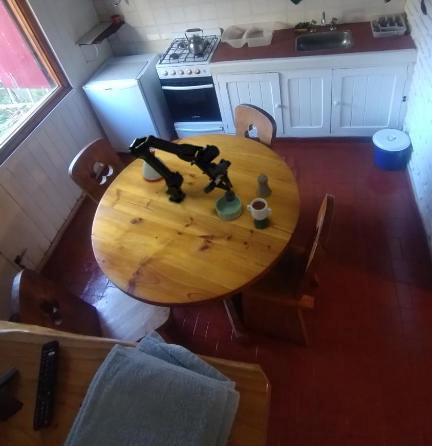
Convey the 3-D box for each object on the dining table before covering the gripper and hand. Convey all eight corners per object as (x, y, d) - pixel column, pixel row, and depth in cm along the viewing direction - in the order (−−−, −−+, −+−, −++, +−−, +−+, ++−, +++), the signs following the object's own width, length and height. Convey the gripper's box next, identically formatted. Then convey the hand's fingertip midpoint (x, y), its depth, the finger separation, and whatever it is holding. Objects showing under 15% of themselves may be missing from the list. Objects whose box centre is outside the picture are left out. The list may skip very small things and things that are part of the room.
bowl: (212, 216, 163) (210, 209, 161) (224, 197, 171) (222, 191, 168) (235, 223, 158) (234, 217, 155) (246, 204, 166) (245, 198, 163)
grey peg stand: (225, 202, 161) (222, 188, 154) (224, 194, 165) (221, 180, 158) (236, 200, 161) (233, 186, 154) (235, 192, 164) (232, 178, 158)
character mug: (274, 219, 156) (273, 200, 148) (271, 232, 151) (269, 213, 143) (251, 215, 160) (248, 196, 152) (247, 227, 155) (244, 208, 147)
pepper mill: (256, 189, 172) (254, 173, 165) (268, 187, 172) (267, 171, 165) (259, 198, 167) (257, 182, 161) (271, 195, 167) (269, 179, 160)
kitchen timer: (172, 169, 194) (166, 148, 185) (157, 185, 186) (149, 164, 177) (154, 162, 201) (147, 142, 192) (138, 178, 193) (130, 157, 184)
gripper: (204, 173, 144) (231, 198, 146) (224, 146, 156) (249, 169, 158) (192, 182, 152) (218, 205, 154) (212, 155, 164) (236, 177, 166)
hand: (231, 189), depth 158 cm, fingers closed on grey peg stand, 2 cm apart
